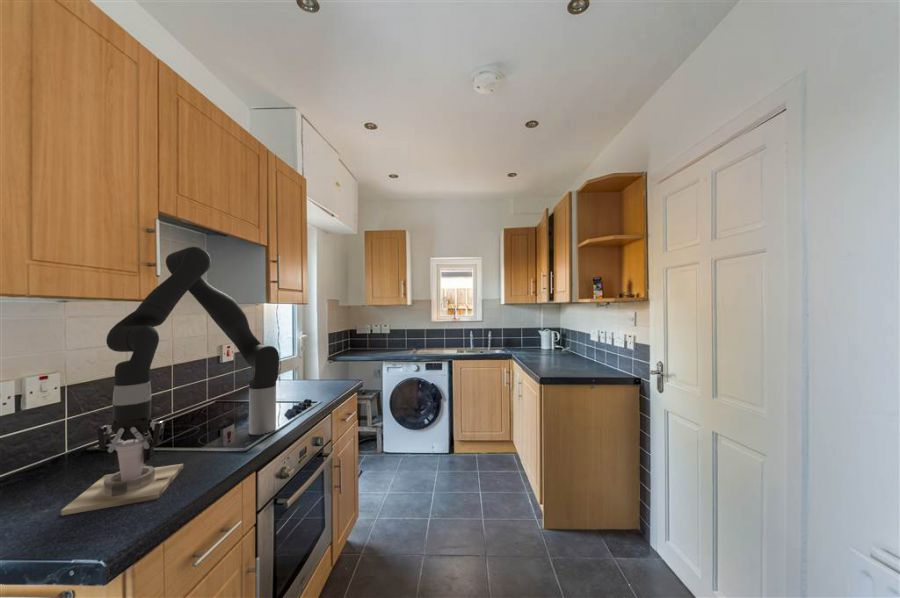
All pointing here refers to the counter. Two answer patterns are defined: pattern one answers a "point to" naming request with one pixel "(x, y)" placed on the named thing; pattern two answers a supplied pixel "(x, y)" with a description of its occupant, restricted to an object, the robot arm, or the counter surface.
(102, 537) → the counter surface
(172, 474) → the holder
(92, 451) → the counter surface
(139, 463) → the smoothie
